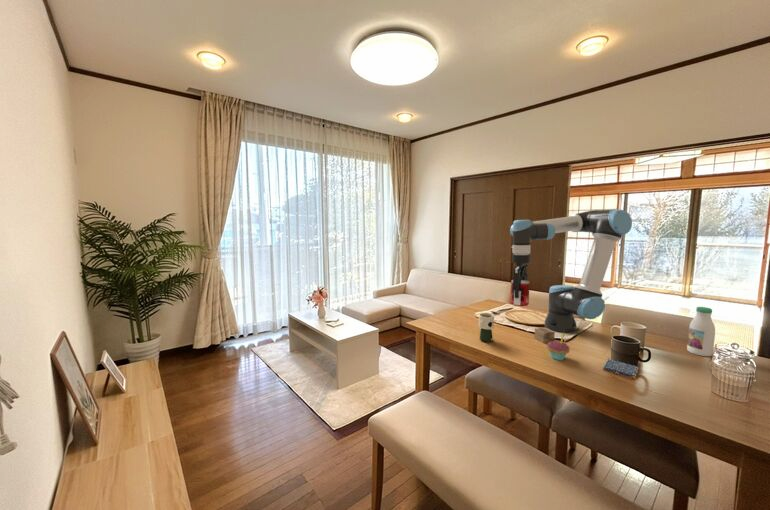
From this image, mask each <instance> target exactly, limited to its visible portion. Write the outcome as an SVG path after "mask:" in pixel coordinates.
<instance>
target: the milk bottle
mask: <svg viewBox="0 0 770 510" xmlns="http://www.w3.org/2000/svg"><path fill="white" fill-rule="evenodd" d="M695 309H696V311H695V313H696V315H695V316H694V317H693V319H692V320H691V322H690V323H689V326H688V327H689V328H688V337H687V343H686V344H687V345H686V351H688V352H689V353H691V354H694V355H697V356H703V357H712V356H713V355H714V354H713V353H714V348H715V347H714V346H715V337H716V326H715V322H713V320H712V317H711V316H712V313H713V310H712V308H710V307H705V306H696V308H695Z"/></svg>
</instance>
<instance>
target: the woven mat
mask: <svg viewBox="0 0 770 510" xmlns="http://www.w3.org/2000/svg"><path fill="white" fill-rule="evenodd" d="M601 370H603V371H604V372H608V373H610V374H611V373H612V374H615V375H618V376H622V377H626V378H629V379H633V380H635V379H637V375H638V373H639V372H638V371H639V367H638V366H637V365H634V364H630V363H625V362H623V361H619V360H615V359H613V360H612V359H610V358H608V359H607V358H606V361H605V363H604V365H603V368H602V369H601Z"/></svg>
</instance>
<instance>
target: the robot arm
mask: <svg viewBox="0 0 770 510" xmlns="http://www.w3.org/2000/svg"><path fill="white" fill-rule="evenodd" d="M512 223H513V224H512V225H510V229H509V231H510V233H509V234H510V235H511V237H512V246H511V247H510V248H511V249H512V254H511V262H512V263H514V264H516V265H515V267H514V268H513V276H512V277H513V278H512V280H513V288H512V290H513V291H514V305H513V306H516V305H520V303H521V291H520V287H521V280H528V264H529V263H530V262H531V245H532V244H531V242H532V241H546V240H552V239H553V238H554V237H555V236H556V234H560V233H567V232H568V233H569V232H571V233H582V232H583V233H591V235H592V236H593V241H592V245H591V248H590V250H589V254H588V258H587V260H586V264H585V265H584V266H585V267H584V270H583V272H582V274H581V279H580V282H579V284H578V285H576V286H574V285H569V284H566V285H565V284H558V285H557V284H555V285H552V286H550V287H549V292H548V312H547V314H546V317H545V319H544V321H543V323H545V325H544V328H547V329H549V330H551V331H553V332H561V333H573V332H576V331H577V326H578V325H577V322H576V319H575V316H574V315H576V316H578V317H579V318H583V319H587V320H594V319H597V318H598V317H600V316H601V315H602V314H603V313H604V311H605V308H606V303H605V300H604V299H603V293H602V291H601V287H602V286H603V282H604V279H605V275H606V273H607V269H608V266H609V263H610V262H611V261H610V260H611V257H612V254H613V251H614V248H615V245H616V243H617V242H619V241H621V240H622V237H623V236H625V235H627V234H628V233H629V232H630V231H631V230H632V227H633V226H632V225H633V221H632V217H631V215H630V213H629V212H628V211H626V210H623V209H616V208H615V209H593V210H587V211H583V212H577V213H572V214H570V215H569V216H565V217H564V216H563V217H557V218H549V219H542V220H533V221H532V220H530V219H517V220H516V219H515V220H514V221H513V222H512Z"/></svg>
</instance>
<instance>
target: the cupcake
mask: <svg viewBox="0 0 770 510" xmlns="http://www.w3.org/2000/svg"><path fill="white" fill-rule="evenodd" d="M564 336H565V332H562V335H561V338H560V340H554V341H551V342H547V343H546V345H545V347H546V350H548V351H549V354H550V356H551V359H553V360H557V361H563V360H564V359H565V357H566V355H567V354H569V352H570V350H571V349H570V347H569V345H568V344H566V343H565V342H563V341H564Z"/></svg>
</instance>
